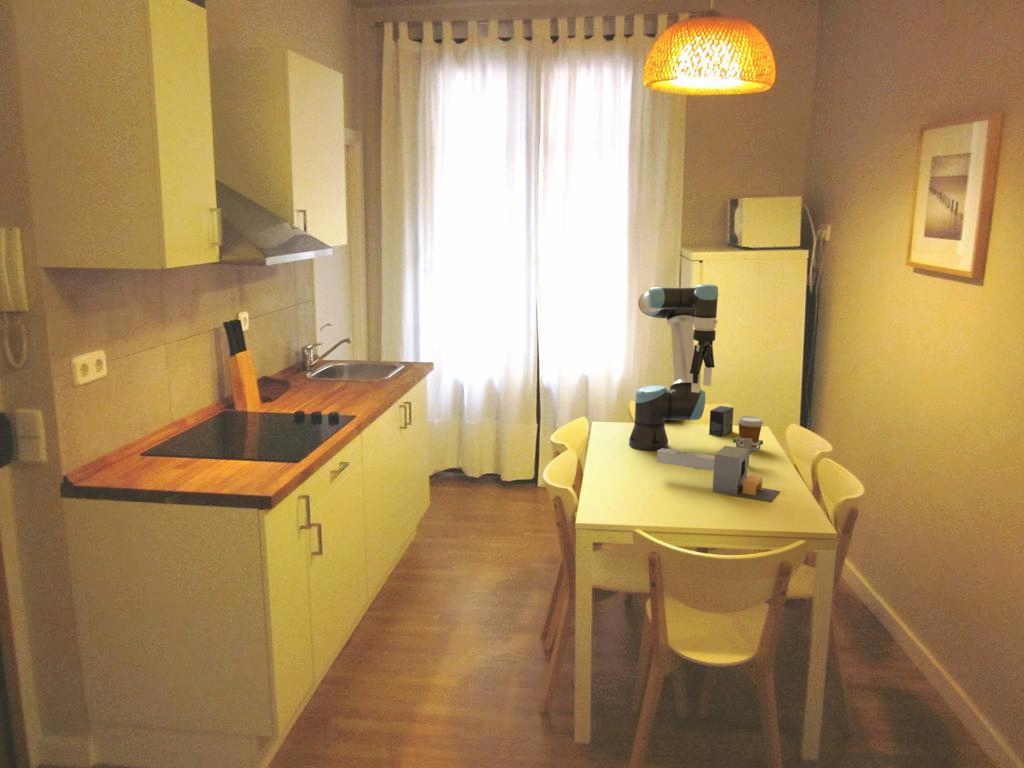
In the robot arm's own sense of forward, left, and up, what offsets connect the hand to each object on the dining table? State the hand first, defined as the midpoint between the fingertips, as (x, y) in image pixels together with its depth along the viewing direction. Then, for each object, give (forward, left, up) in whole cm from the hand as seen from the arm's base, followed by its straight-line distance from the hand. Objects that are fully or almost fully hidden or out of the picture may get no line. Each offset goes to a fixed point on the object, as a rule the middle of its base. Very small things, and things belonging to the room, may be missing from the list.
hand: (701, 388), depth 299 cm
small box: (-6, +52, -29) cm, 60 cm away
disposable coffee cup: (+10, +34, -29) cm, 46 cm away
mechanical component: (+15, +11, -29) cm, 34 cm away
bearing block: (+17, -19, -29) cm, 38 cm away
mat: (+26, -19, -29) cm, 43 cm away
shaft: (+5, -19, -23) cm, 30 cm away
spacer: (+24, -18, -28) cm, 42 cm away
